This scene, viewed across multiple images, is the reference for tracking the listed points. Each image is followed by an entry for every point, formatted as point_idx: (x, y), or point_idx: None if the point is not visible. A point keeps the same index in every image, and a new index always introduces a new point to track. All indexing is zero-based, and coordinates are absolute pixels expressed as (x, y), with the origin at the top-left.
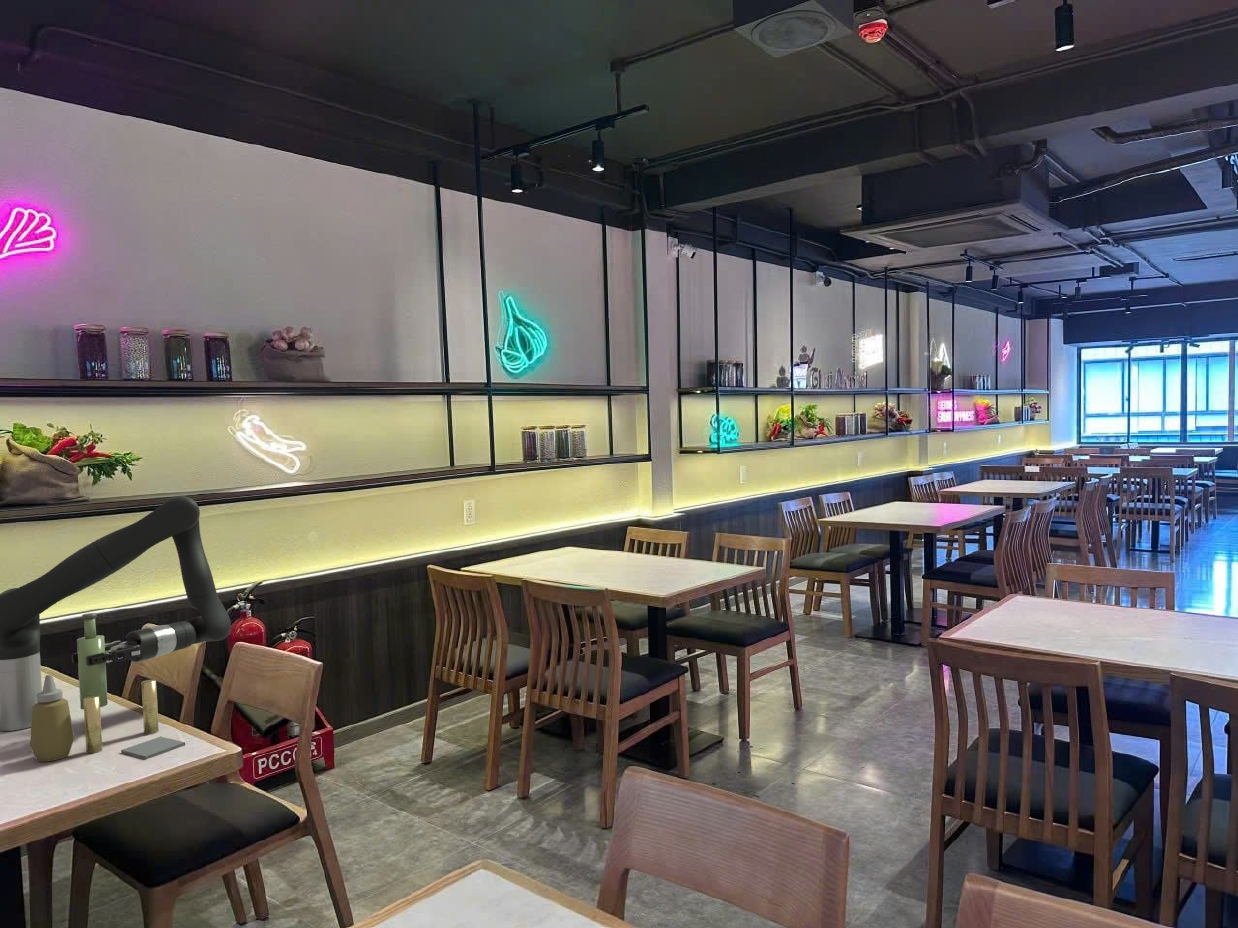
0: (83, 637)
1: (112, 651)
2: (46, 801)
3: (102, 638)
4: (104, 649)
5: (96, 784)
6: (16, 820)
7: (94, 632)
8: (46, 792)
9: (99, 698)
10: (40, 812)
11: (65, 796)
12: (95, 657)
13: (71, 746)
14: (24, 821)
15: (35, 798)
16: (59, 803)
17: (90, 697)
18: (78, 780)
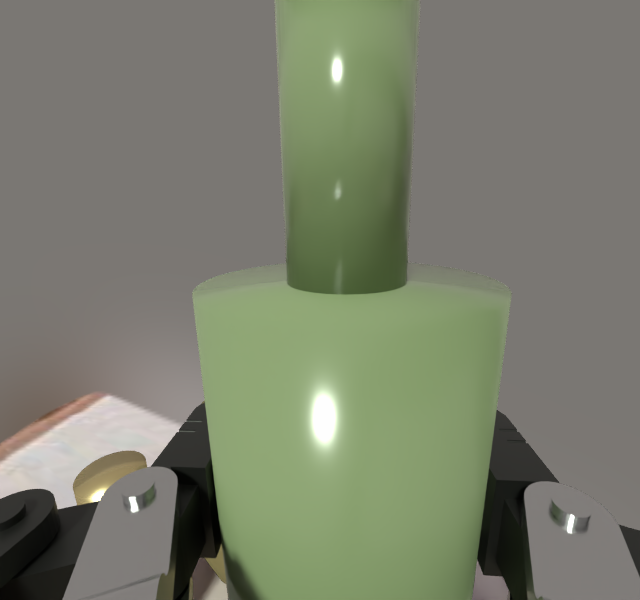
0: (465, 277)
1: (83, 557)
2: (87, 428)
3: (194, 313)
4: (230, 497)
5: (8, 488)
6: (99, 396)
7: (285, 209)
8: (111, 443)
9: (77, 501)
10: (74, 412)
11: (59, 444)
12: (191, 414)
13: (212, 568)
14: (84, 397)
15: (117, 428)
16: (56, 430)
17: (116, 471)
18: (69, 487)
